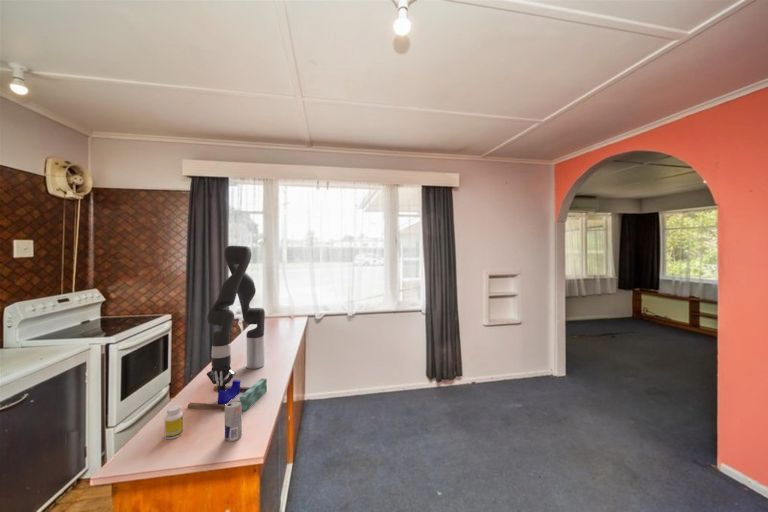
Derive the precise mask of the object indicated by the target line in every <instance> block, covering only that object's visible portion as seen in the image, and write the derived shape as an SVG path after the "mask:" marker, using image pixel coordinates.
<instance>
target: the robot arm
mask: <svg viewBox="0 0 768 512" xmlns="http://www.w3.org/2000/svg"><path fill="white" fill-rule="evenodd" d="M224 259H225V262H226V265H227V267H228V269H229V272H230V274H231V275H230V276H229V277H227V279H225V281H224V282H223V283H222V285H221V288H220V290H219V294H218V296H217V299H216V301H215V302H214V304H213V306H211V308H210V310H209V312H208V314H207V323H208V324H209V325H210V326H215V327H216V326H221V327H222V328H221V329H220V330H216V331H213V333H212V336H211V369H210V371H207V372H206V376H207V377H208V379H209V380H210V382H211V383H212V384H213V385H217V390H216V391H217V393H219V391H220V390H223V391H225V386H227V384H229V383H231V381H232V379H233V378H234V377H235V375H236V371H232V367H231V362H232V361H231V360H232V359H231V358H232V357H231V356H232V355H231V353H232V352H231V350H232V349H231V333H232V332H231V331H232V328H233V324H234V321H235V313H234V312H233V310H231V309H225V308H227V307H232V306H233V305H234V303H235V301H236V298H238V301H239V304H240V309H241V314H242V320H243V322H244V324H245V325H256V327H255V328H252V329H250V330H248V331H247V332H246V337H245V338H246V368H247V369H250V370H257V369H260V368H263V367H264V366H265V319H266V318H265V317H266V313H265V309H264V308H263V307H250V304H251V302H252V300H253V298H254V297H255V295H256V291H257V290H256V284H255V282H254V279H253V278H252V276H251V275H249V274H248V272H246V271H247V270H248V267H249V264H250V262H251V259H252V249H251V248H250V247H249V246H246V245H228V246H226V247H225V249H224Z"/></svg>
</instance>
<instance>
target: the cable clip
mask: <svg viewBox="0 0 768 512" xmlns="http://www.w3.org/2000/svg"><path fill="white" fill-rule="evenodd" d="M229 386H230V387H228V388H227V390H226V391H223V390H220V391H219V393H218V392H217V393H218V395H217V403H216V404H224V405H225V404H227V403H228V402H229V401H230V400H231V399H232V400H234V399H235V398H236V397H237V396H239V395H240V392H241V391H240V387H241V380H238V379H234V380H232V383H231V385H229ZM236 395H237V396H236ZM235 396H236V397H235ZM232 400H231V401H232ZM231 401H230V402H231Z"/></svg>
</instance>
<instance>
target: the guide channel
mask: <svg viewBox="0 0 768 512" xmlns="http://www.w3.org/2000/svg"><path fill="white" fill-rule="evenodd" d="M267 380H268V379H267V378H260V379H259V380H258V381H256V382H255V383H254V384H253V385H251V386H240V392H242V391H243V393H242V394H241V395H240V396H239V401H240V402H241V404H242V412H246V411H248V410H249V409H250V408H251V407H252V406H253V405H252V404H255V403H256V402H257V401H258V400H260V398H261V397H262V396H264V395H265V393H266V392H267V390H268V388H267V387H268V386H267V383H268V382H267ZM230 386H231V385H225V390H227V388H228V387H230ZM213 391H217V384H215V385H214V386H213ZM251 405H252V406H251ZM250 406H251V407H250ZM188 407H189V408H188ZM187 408H188V409H198V408H202V410H203V408H204V410H215V409H221V410H220V411H225V405H224V404H217V403H204V402H202V403H201V402H189V403H187Z"/></svg>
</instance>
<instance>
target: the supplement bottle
mask: <svg viewBox="0 0 768 512" xmlns="http://www.w3.org/2000/svg"><path fill="white" fill-rule="evenodd" d="M183 415H184V414H183V412H182V411H181V405H177V404H176V405H173V406H172V405H171V406H169V407H168V408H167V409H166V415H165V416H164V423H163V424H164V439H166V440H173V439H176V438H178V437H180V436H182V434H183V432H184V428H183V427H184V425H183V423H184V422H183V421H184V420H183V419H184V418H183V417H184V416H183Z"/></svg>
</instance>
